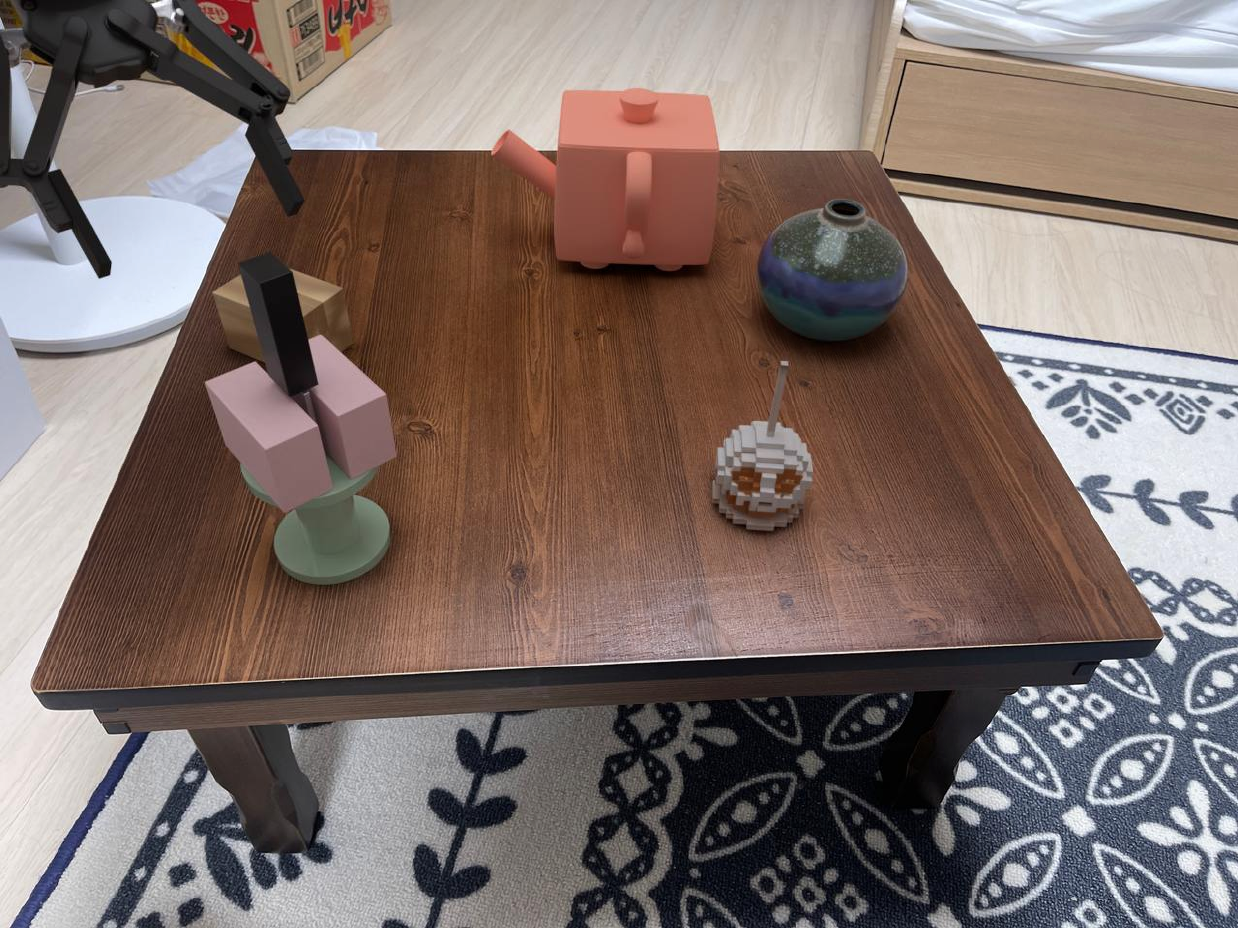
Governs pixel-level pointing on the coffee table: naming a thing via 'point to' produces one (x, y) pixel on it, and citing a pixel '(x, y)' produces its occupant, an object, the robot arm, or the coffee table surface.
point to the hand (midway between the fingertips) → (206, 239)
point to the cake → (303, 426)
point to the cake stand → (330, 531)
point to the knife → (280, 327)
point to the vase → (832, 272)
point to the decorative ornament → (763, 471)
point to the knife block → (317, 304)
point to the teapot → (628, 177)
